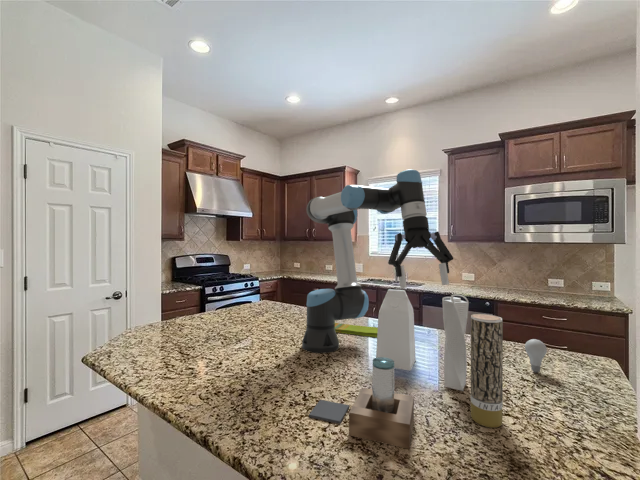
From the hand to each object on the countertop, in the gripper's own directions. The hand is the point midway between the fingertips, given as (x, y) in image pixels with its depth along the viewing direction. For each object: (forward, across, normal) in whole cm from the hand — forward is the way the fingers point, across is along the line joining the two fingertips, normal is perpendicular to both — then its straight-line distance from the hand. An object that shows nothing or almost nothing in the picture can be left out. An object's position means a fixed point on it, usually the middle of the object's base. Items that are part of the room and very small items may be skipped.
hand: (424, 286), depth 94 cm
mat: (+29, -32, -3) cm, 44 cm away
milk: (+25, -2, +26) cm, 36 cm away
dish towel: (+17, -5, +68) cm, 70 cm away
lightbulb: (+31, +41, +11) cm, 53 cm away
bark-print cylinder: (+34, +4, -12) cm, 36 cm away
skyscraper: (+30, +8, +6) cm, 32 cm away
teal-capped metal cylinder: (+32, -21, -10) cm, 40 cm away
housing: (+32, -21, -10) cm, 40 cm away
